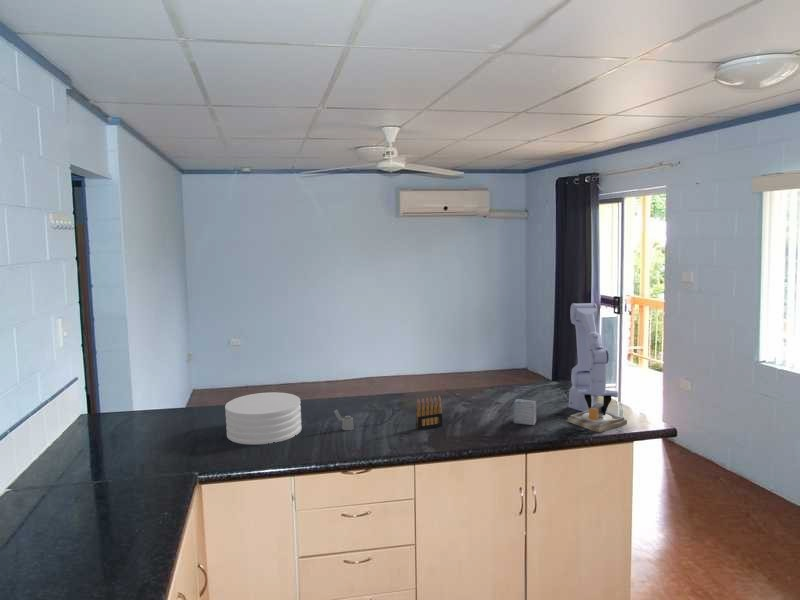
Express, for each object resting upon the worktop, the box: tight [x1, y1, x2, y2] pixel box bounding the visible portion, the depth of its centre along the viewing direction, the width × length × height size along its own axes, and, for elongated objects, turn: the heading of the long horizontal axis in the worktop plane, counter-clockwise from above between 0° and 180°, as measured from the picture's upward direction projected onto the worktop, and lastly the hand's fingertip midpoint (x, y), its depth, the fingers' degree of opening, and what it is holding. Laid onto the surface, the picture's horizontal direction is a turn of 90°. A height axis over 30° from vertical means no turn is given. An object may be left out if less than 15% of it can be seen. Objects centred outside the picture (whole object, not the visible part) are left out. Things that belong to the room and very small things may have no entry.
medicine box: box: [513, 398, 537, 426], centre depth 227 cm, size 8×4×9 cm, turn 65°
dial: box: [582, 402, 612, 424], centre depth 225 cm, size 11×11×5 cm
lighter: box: [333, 409, 354, 431], centre depth 223 cm, size 7×2×8 cm, turn 100°
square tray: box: [567, 410, 628, 433], centre depth 225 cm, size 15×16×3 cm
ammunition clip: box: [415, 395, 444, 431], centre depth 224 cm, size 11×2×12 cm, turn 112°
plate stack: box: [224, 391, 302, 445], centre depth 223 cm, size 28×28×12 cm
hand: (597, 414), depth 225 cm, fingers closed on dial, 4 cm apart
